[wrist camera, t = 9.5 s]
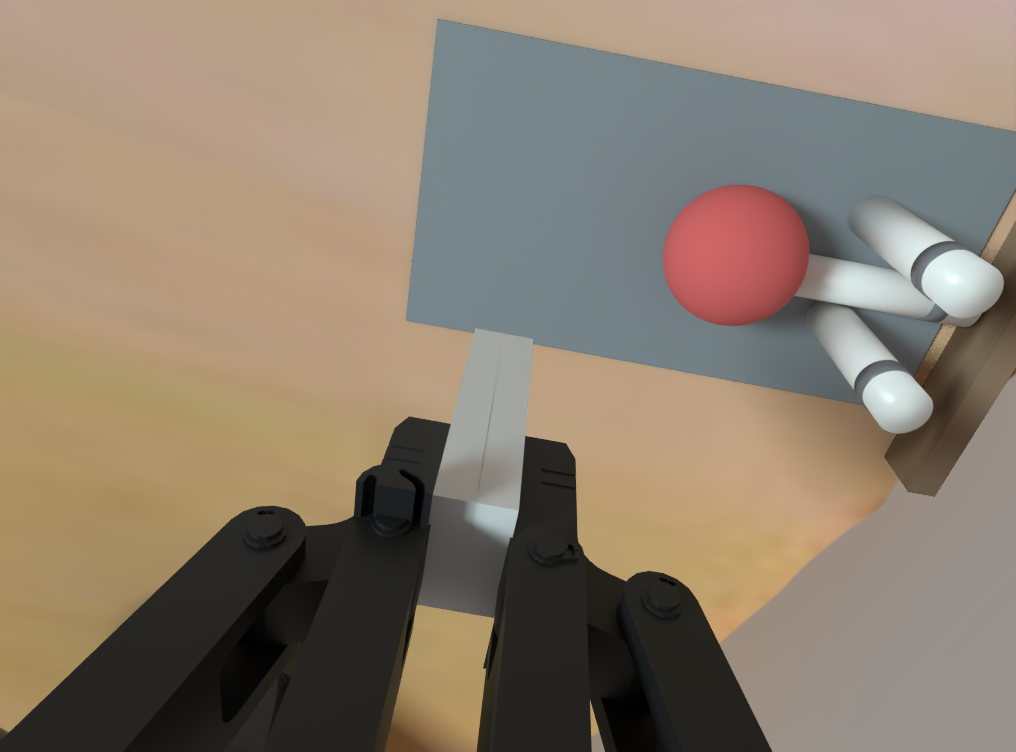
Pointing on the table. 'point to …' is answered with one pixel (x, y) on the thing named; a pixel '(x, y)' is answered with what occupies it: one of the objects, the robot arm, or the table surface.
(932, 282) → the pin
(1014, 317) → the stopper wall
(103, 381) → the table surface
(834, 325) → the pin
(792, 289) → the ball
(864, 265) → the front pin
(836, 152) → the plate
